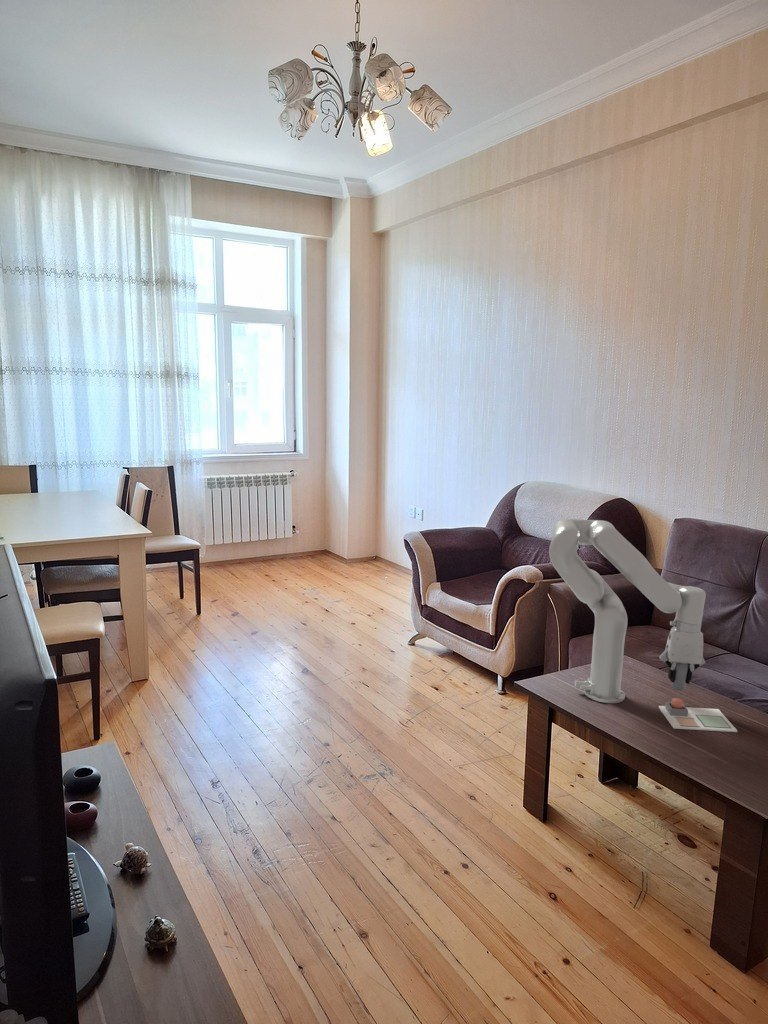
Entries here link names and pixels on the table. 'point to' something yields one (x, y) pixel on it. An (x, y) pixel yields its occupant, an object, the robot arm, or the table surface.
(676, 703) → the button
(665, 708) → the picture board
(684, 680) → the cylinder
